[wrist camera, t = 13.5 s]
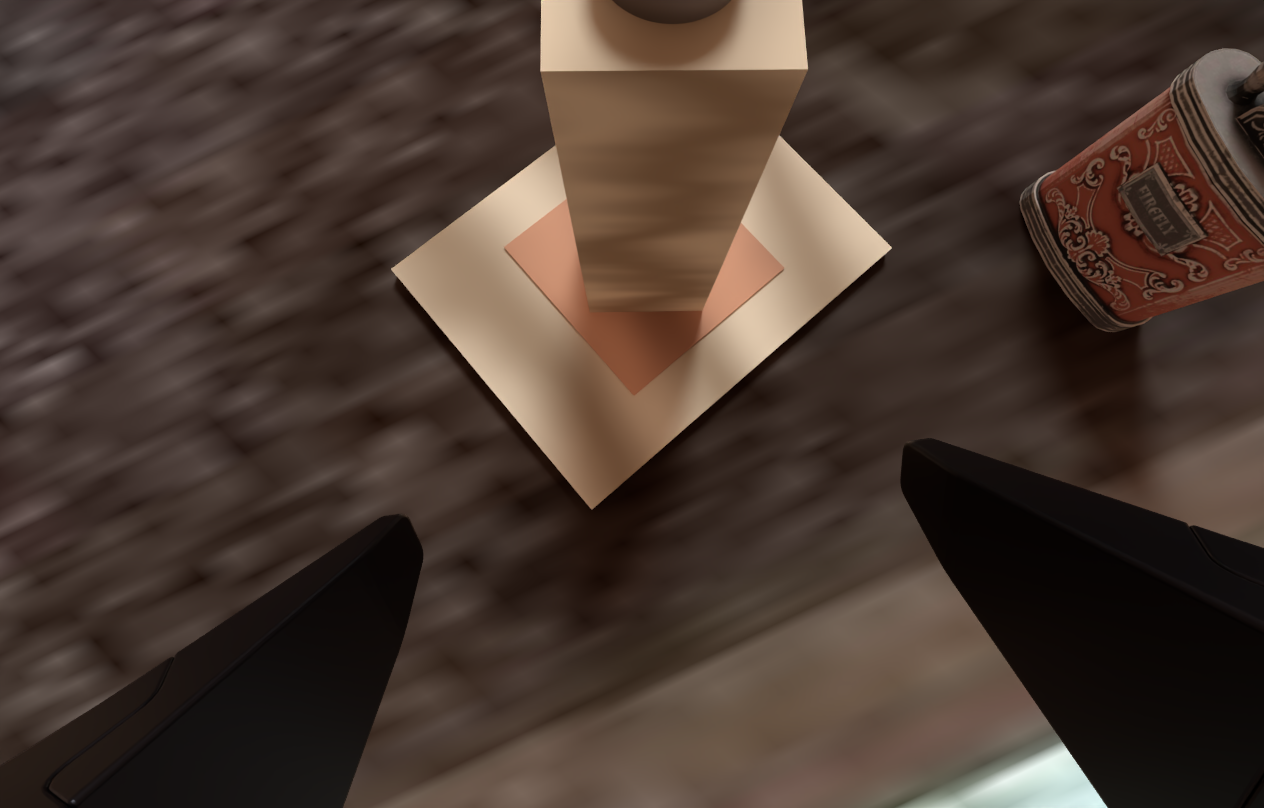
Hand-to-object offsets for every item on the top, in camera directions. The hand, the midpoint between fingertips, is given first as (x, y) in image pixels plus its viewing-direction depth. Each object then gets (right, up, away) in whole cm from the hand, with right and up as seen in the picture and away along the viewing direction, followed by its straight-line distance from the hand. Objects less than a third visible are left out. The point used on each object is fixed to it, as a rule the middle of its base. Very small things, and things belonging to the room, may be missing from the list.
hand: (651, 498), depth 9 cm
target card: (0, +8, +14) cm, 16 cm away
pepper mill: (0, +8, +14) cm, 16 cm away
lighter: (+21, +9, +15) cm, 27 cm away
